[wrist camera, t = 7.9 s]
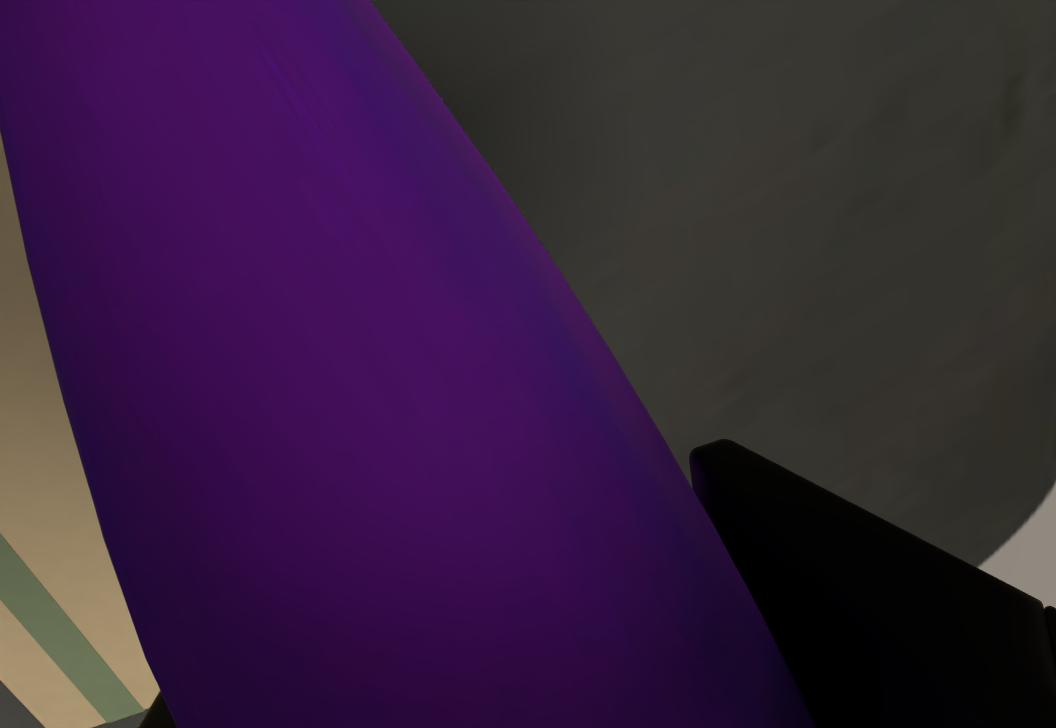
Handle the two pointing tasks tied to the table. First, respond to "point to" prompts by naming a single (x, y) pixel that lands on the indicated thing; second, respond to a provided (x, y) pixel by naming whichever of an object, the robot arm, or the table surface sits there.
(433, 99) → the purple long tapered piece
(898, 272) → the table surface
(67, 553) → the cloth
